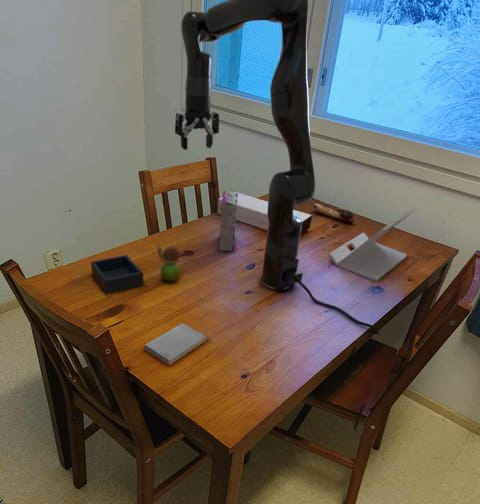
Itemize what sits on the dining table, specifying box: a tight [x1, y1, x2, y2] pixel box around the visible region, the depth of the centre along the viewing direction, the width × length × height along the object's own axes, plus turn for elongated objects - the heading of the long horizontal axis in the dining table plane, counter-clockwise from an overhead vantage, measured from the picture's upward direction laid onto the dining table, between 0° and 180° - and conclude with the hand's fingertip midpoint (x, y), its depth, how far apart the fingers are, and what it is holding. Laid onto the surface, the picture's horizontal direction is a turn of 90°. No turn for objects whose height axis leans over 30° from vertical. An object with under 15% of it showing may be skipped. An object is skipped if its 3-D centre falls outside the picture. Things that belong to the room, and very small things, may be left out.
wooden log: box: [313, 203, 354, 224], centre depth 183 cm, size 9×5×18 cm
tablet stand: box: [327, 208, 416, 282], centre depth 150 cm, size 18×25×17 cm
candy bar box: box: [218, 190, 239, 252], centre depth 150 cm, size 11×5×16 cm, turn 179°
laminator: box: [216, 191, 313, 235], centre depth 170 cm, size 34×12×6 cm, turn 58°
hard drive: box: [143, 322, 207, 366], centre depth 108 cm, size 2×8×12 cm
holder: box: [90, 254, 144, 295], centre depth 129 cm, size 12×11×4 cm
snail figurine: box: [156, 241, 181, 282], centre depth 129 cm, size 5×6×12 cm
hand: (196, 148), depth 146 cm, fingers open, 8 cm apart
